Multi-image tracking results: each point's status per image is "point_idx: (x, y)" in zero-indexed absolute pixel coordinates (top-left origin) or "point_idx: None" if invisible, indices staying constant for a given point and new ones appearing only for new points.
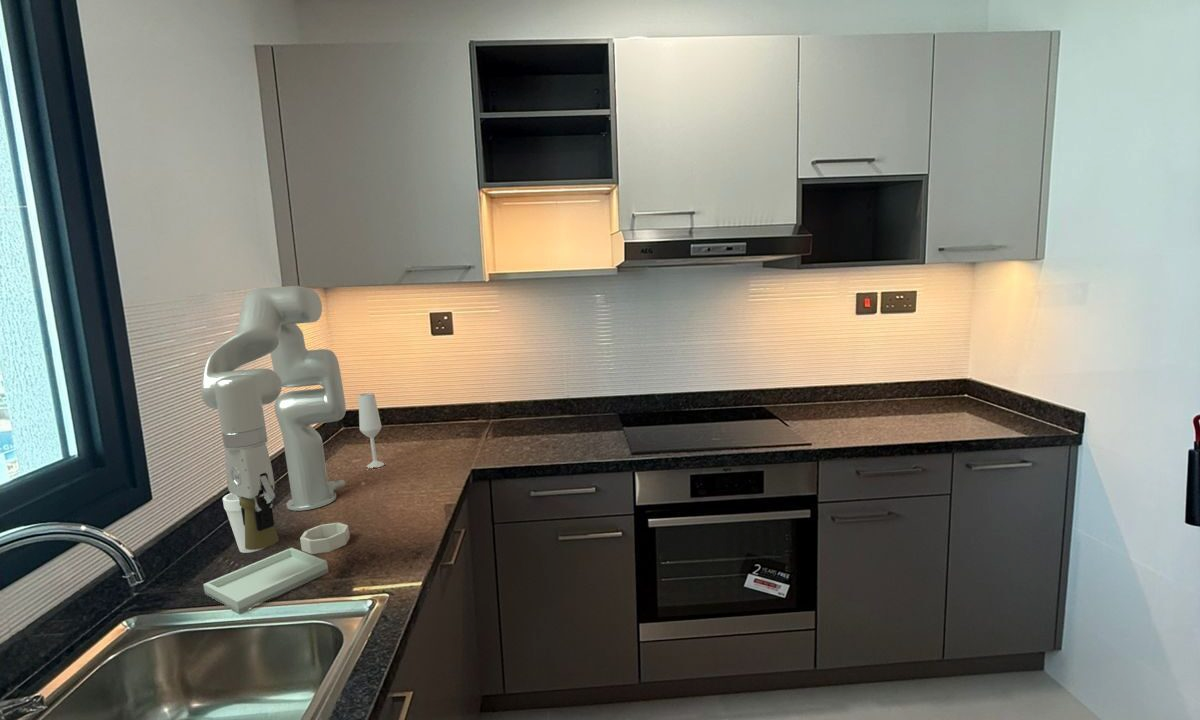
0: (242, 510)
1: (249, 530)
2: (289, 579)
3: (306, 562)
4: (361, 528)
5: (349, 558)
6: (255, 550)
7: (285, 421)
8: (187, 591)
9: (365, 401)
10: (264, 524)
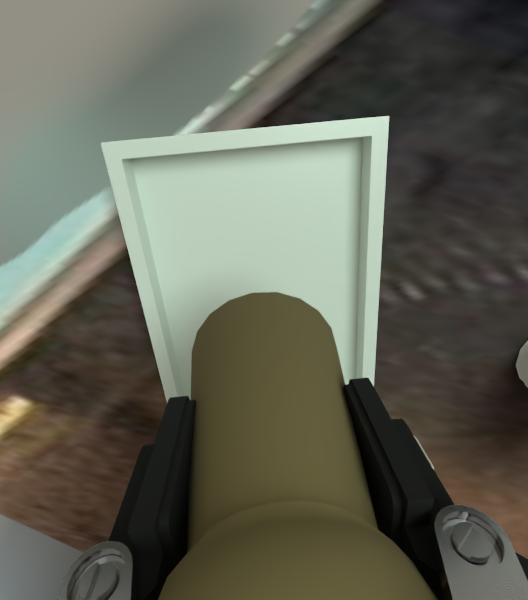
0: (396, 475)
1: (232, 367)
2: (149, 322)
3: None
4: None
5: None
6: (525, 345)
7: None
8: (476, 90)
9: None
10: (145, 452)
